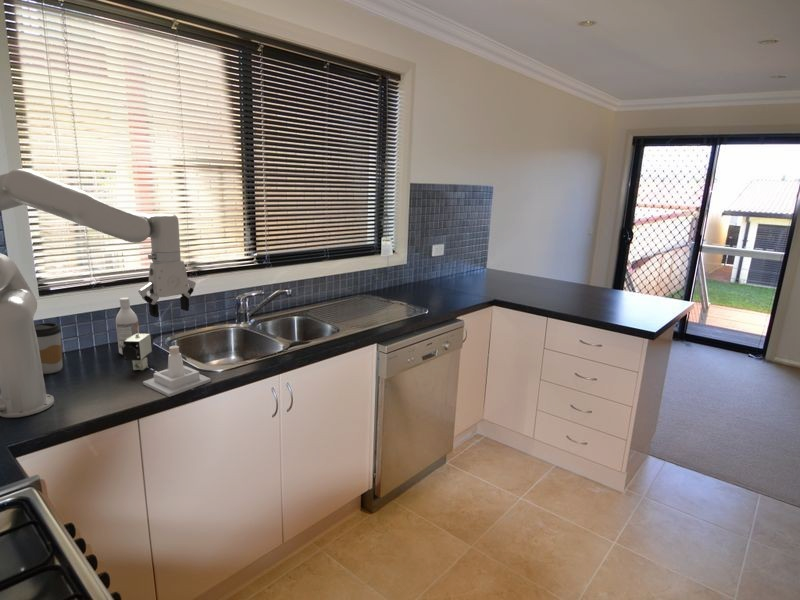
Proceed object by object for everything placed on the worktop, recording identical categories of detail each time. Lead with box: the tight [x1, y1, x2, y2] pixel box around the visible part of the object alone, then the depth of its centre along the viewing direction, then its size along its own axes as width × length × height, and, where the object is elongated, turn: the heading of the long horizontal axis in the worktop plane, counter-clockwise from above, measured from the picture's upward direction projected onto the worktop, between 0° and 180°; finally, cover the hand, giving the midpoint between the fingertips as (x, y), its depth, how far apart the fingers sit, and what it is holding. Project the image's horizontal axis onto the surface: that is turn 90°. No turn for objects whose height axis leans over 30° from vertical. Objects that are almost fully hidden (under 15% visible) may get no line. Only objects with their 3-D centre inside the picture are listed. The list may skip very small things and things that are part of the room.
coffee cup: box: [34, 322, 64, 375], centre depth 156 cm, size 8×8×15 cm
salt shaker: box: [167, 345, 185, 379], centre depth 151 cm, size 5×5×11 cm
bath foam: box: [115, 296, 140, 355], centre depth 174 cm, size 7×7×20 cm
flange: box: [142, 364, 212, 398], centre depth 152 cm, size 14×14×4 cm
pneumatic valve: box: [122, 332, 154, 371], centre depth 161 cm, size 6×12×12 cm, turn 2°
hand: (170, 313), depth 147 cm, fingers open, 9 cm apart
